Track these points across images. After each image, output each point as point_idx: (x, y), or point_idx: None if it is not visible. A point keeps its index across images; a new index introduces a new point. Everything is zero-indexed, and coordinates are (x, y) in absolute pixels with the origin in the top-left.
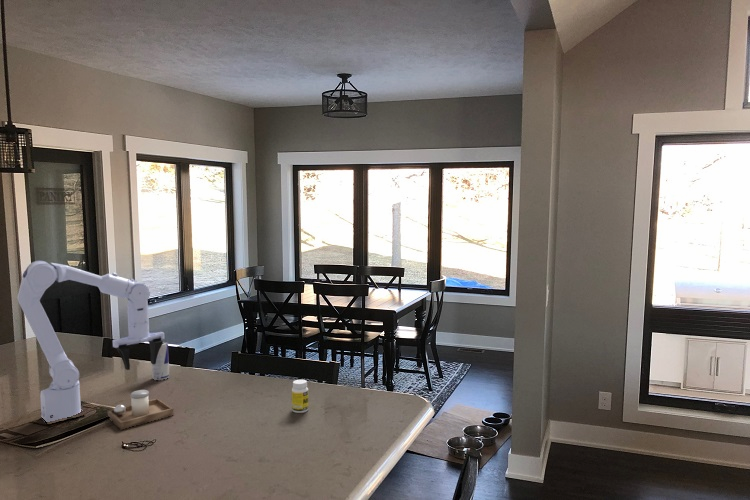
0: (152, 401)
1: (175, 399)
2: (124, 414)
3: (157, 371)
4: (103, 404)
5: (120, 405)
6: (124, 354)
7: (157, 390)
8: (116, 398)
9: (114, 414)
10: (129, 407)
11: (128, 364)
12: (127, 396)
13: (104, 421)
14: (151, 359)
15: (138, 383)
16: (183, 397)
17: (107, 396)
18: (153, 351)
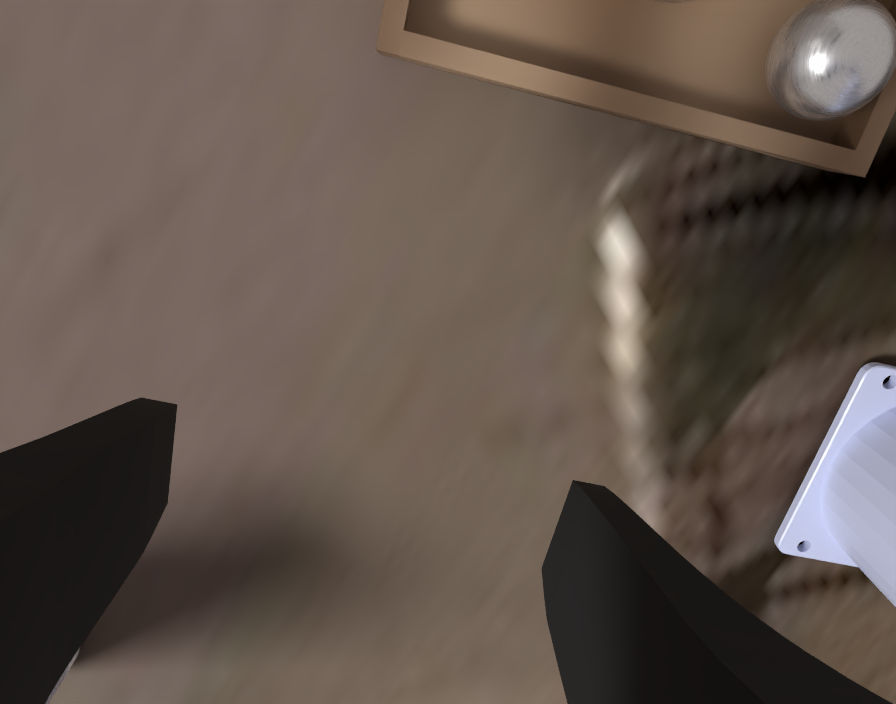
0: (451, 44)
1: (183, 34)
2: (768, 43)
3: None
4: (629, 474)
5: (871, 34)
6: (851, 692)
7: (180, 406)
8: (496, 508)
9: (803, 134)
10: (681, 104)
11: (627, 524)
12: (421, 481)
13: (890, 122)
14: (139, 525)
15: (206, 654)
16: (92, 8)
17: (507, 592)
18: (28, 569)
